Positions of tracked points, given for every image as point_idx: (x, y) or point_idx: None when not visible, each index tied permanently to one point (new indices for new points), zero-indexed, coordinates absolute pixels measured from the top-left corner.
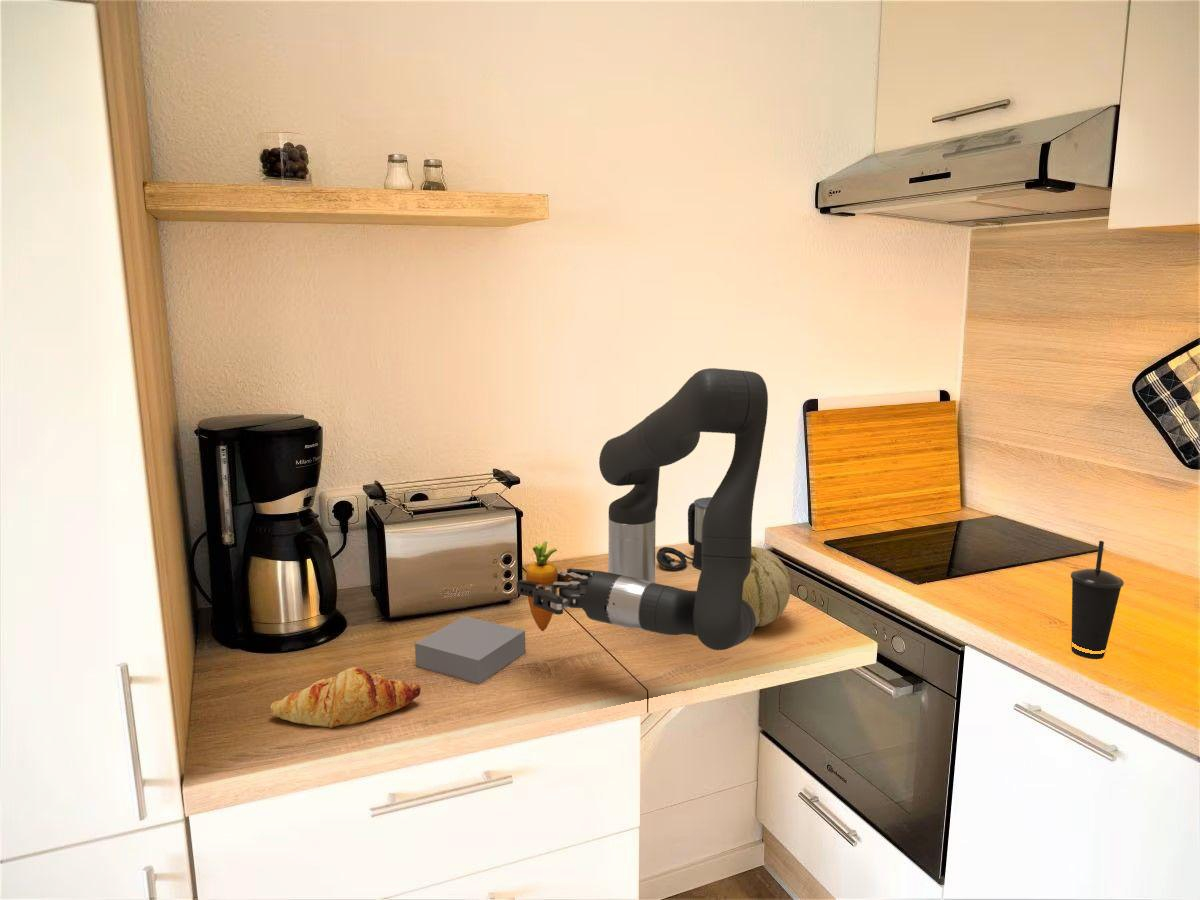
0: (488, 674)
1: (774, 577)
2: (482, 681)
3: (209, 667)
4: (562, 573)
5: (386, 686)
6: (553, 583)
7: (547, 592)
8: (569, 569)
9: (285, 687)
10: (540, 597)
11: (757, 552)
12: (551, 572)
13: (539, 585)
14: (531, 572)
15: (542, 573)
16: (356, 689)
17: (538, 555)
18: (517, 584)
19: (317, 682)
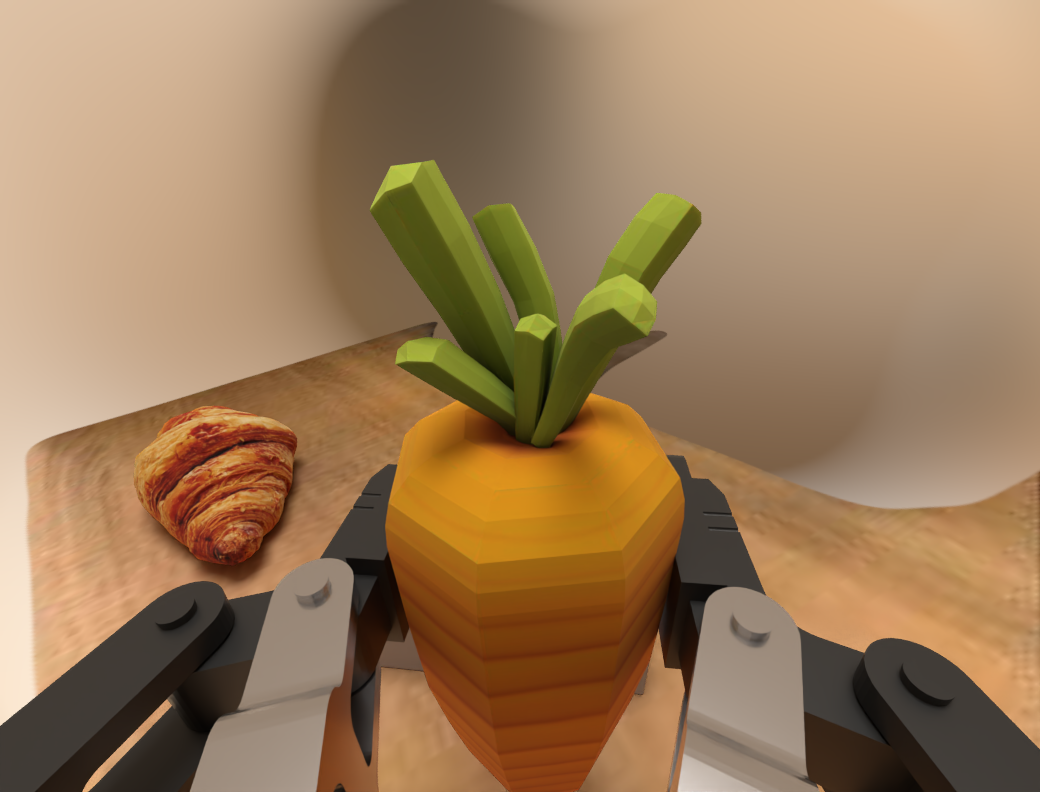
0: (417, 663)
1: None
2: (387, 666)
3: (378, 341)
4: (734, 648)
5: (184, 495)
6: (245, 730)
7: (28, 777)
8: (903, 672)
9: (327, 400)
10: (177, 703)
11: None
12: (464, 566)
13: (294, 589)
14: (405, 438)
15: (390, 507)
16: (145, 461)
17: (437, 309)
18: None
19: (208, 410)
